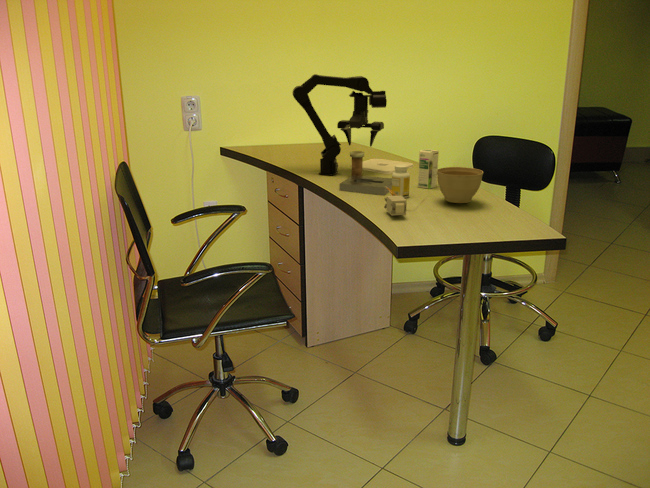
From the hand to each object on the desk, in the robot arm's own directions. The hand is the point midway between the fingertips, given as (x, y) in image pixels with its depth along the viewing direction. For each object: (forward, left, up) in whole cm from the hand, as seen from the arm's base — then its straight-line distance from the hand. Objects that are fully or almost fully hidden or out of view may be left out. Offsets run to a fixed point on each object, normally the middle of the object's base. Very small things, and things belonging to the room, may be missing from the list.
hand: (360, 145), depth 256 cm
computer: (+5, +17, -14) cm, 22 cm away
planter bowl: (+46, -26, -13) cm, 54 cm away
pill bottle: (+25, -28, -13) cm, 40 cm away
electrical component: (+25, -43, -13) cm, 52 cm away
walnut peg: (+1, -7, -13) cm, 15 cm away
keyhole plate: (+10, -20, -13) cm, 26 cm away
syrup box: (+31, -9, -13) cm, 35 cm away
